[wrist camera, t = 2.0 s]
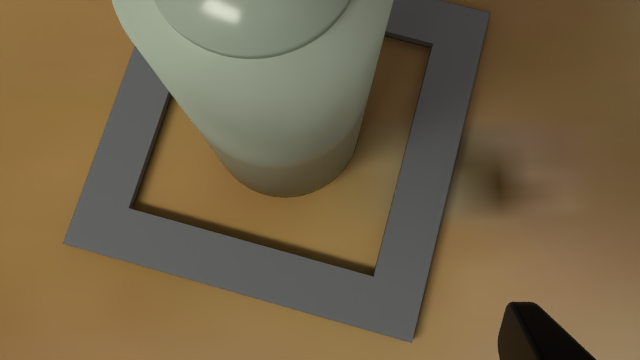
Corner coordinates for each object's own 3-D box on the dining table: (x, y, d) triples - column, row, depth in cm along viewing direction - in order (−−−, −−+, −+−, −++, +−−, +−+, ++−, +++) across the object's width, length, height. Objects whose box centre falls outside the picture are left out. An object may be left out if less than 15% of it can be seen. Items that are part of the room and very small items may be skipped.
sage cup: (374, 77, 24) (432, -141, 12) (337, 214, 23) (358, 127, 11) (237, 42, 24) (157, -207, 12) (194, 175, 23) (58, 47, 11)
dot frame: (487, 17, 24) (490, 12, 24) (409, 341, 22) (412, 342, 22) (177, -62, 25) (175, -67, 25) (67, 244, 23) (62, 243, 22)
